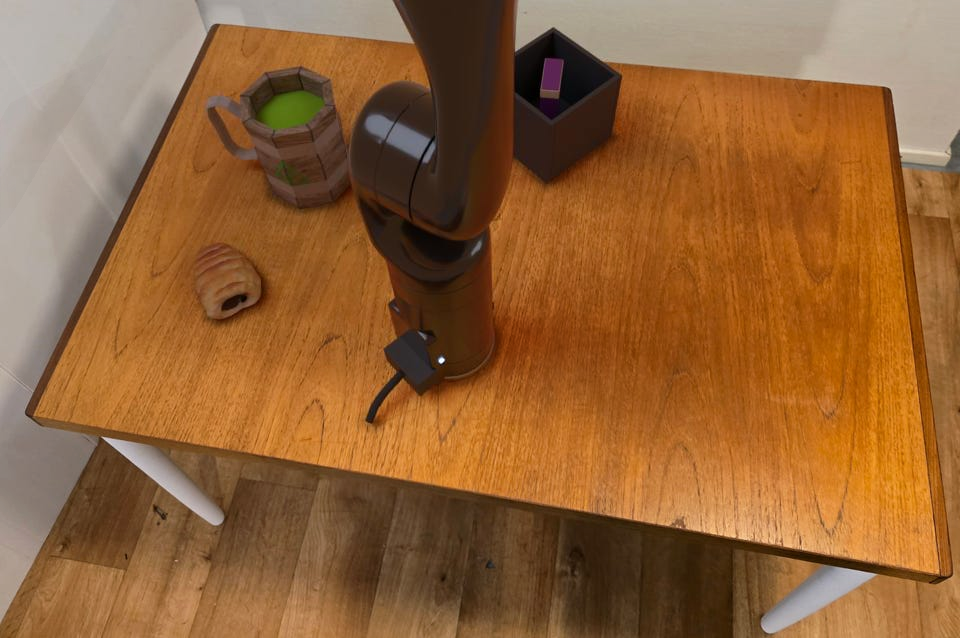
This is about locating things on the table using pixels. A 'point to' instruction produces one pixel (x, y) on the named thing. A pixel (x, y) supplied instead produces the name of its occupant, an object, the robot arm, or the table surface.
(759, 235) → the table surface
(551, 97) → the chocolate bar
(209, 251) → the pastry
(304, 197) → the mug
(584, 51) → the waste bin
